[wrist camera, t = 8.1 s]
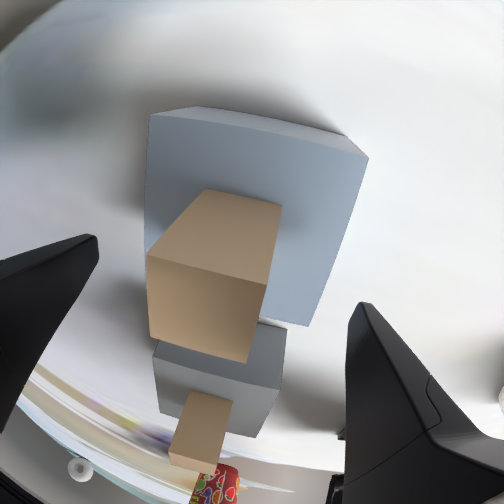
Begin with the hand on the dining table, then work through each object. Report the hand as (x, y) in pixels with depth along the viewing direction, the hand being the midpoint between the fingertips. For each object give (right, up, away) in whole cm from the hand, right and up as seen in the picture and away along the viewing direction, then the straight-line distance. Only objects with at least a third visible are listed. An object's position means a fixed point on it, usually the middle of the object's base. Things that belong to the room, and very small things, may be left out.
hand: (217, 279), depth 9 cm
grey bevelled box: (-1, -7, +15) cm, 16 cm away
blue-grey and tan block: (+1, +4, +7) cm, 9 cm away
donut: (-56, -70, +61) cm, 108 cm away
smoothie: (-4, -36, +32) cm, 49 cm away
